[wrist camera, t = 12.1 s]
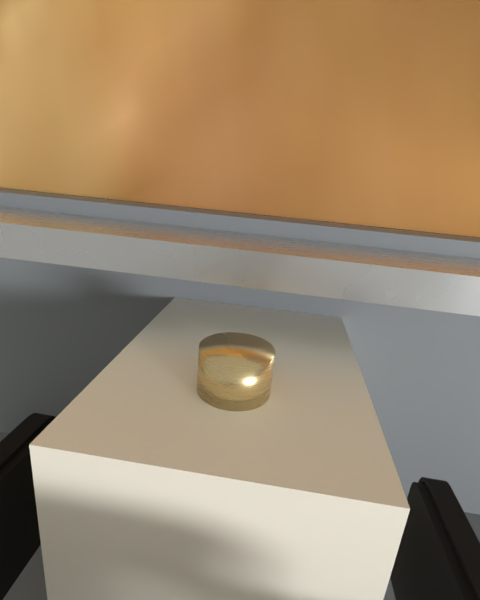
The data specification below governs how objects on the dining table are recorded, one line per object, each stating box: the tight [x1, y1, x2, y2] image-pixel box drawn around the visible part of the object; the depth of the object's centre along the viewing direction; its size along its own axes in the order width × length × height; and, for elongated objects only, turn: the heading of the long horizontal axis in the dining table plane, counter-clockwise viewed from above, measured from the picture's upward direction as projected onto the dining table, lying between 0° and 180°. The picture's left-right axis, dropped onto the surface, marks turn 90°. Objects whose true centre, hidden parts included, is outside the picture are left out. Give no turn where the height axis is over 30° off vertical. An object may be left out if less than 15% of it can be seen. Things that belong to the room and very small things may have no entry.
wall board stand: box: [0, 188, 480, 600], centre depth 11 cm, size 12×22×10 cm, turn 85°
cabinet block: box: [29, 298, 410, 600], centre depth 10 cm, size 8×6×8 cm
